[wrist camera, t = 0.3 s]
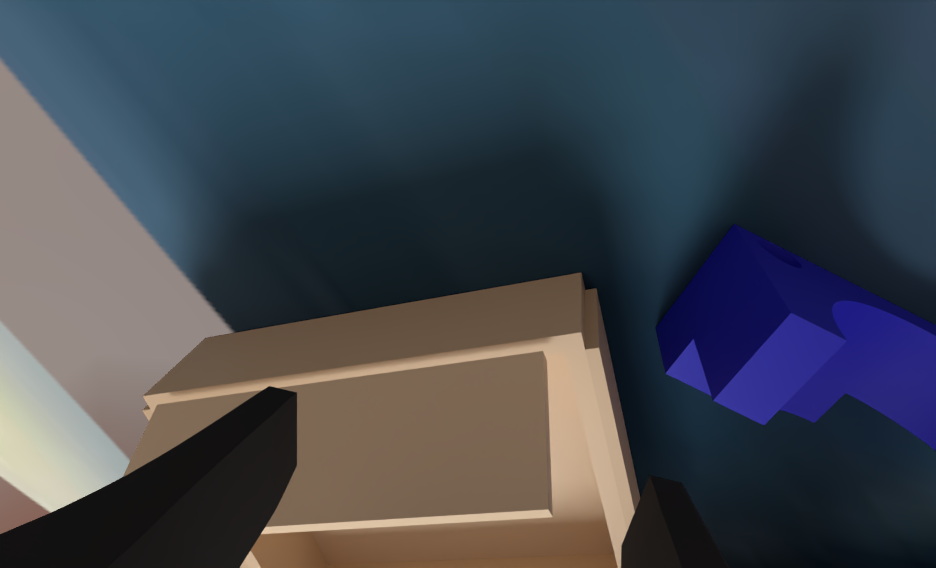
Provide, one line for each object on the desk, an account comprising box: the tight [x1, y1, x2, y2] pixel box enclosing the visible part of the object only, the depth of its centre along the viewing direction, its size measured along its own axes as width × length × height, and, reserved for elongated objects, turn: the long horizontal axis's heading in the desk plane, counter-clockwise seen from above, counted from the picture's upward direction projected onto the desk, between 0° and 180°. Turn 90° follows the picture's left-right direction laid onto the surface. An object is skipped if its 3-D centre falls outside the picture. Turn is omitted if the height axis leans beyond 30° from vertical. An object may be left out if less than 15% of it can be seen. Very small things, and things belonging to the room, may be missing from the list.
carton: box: [143, 273, 640, 568], centre depth 23 cm, size 14×17×4 cm
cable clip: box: [656, 224, 936, 451], centre depth 17 cm, size 12×4×6 cm, turn 66°
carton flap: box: [123, 351, 553, 534], centre depth 17 cm, size 4×14×1 cm
